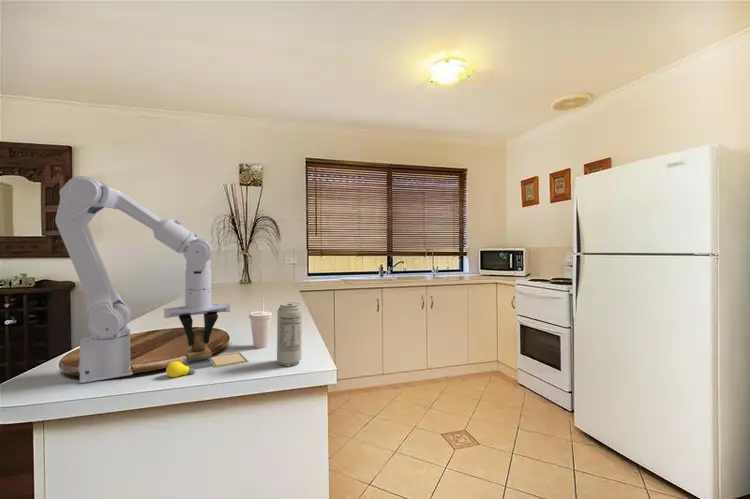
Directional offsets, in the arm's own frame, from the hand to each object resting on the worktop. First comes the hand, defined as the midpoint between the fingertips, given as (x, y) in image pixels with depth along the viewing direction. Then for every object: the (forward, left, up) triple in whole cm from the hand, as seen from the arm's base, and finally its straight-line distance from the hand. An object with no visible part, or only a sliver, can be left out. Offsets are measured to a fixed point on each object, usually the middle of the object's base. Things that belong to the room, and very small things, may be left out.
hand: (198, 343), depth 92 cm
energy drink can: (+19, -10, -6) cm, 23 cm away
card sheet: (+7, 0, -5) cm, 9 cm away
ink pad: (0, 0, -5) cm, 5 cm away
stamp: (0, 0, -3) cm, 3 cm away
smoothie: (+17, +7, -6) cm, 20 cm away
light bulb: (-5, -5, -6) cm, 9 cm away
